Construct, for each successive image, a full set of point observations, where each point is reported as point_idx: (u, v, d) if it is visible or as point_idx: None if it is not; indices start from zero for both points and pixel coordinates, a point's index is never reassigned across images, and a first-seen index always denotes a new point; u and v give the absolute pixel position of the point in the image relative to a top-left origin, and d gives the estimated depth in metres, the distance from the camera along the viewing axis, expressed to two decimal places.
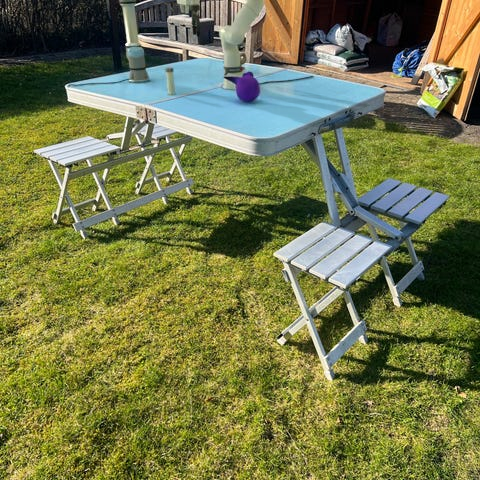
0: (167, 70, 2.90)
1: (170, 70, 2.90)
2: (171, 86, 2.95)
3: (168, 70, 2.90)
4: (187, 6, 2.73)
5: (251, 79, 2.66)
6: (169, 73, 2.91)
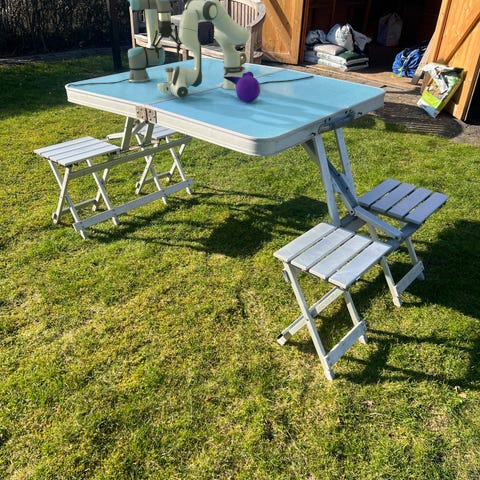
0: (167, 70, 2.90)
1: (170, 70, 2.90)
2: None
3: (168, 70, 2.90)
4: None
5: (251, 79, 2.66)
6: (169, 73, 2.91)
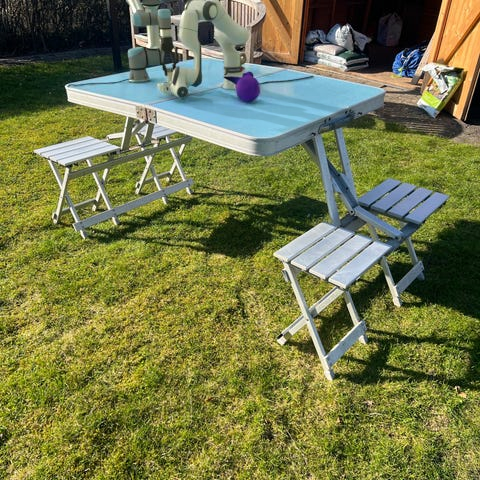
0: (167, 70, 2.90)
1: (170, 70, 2.90)
2: None
3: (168, 70, 2.90)
4: None
5: (251, 79, 2.66)
6: (169, 73, 2.91)
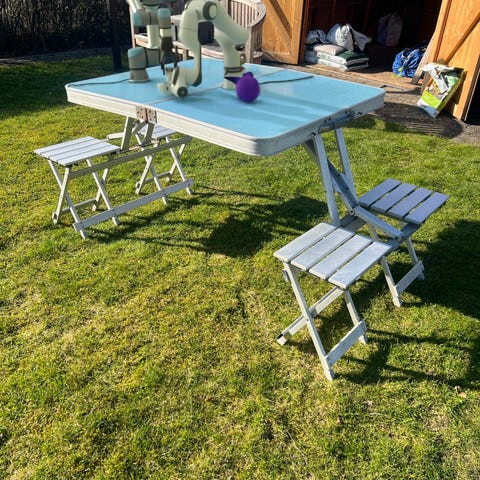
0: (172, 69, 2.91)
1: None
2: None
3: None
4: None
5: (251, 79, 2.66)
6: (169, 73, 2.91)
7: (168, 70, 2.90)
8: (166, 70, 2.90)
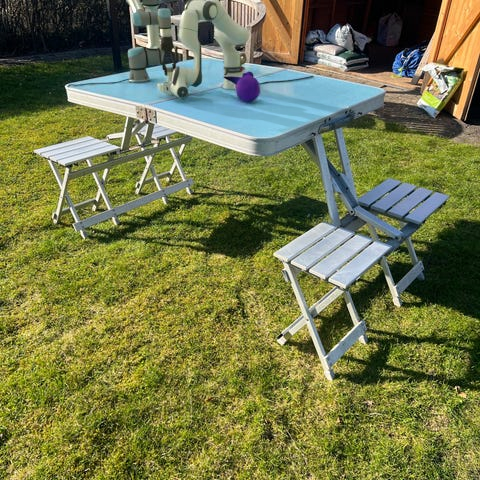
0: (172, 69, 2.91)
1: None
2: None
3: None
4: None
5: (251, 79, 2.66)
6: (169, 73, 2.91)
7: (168, 70, 2.90)
8: (166, 70, 2.90)
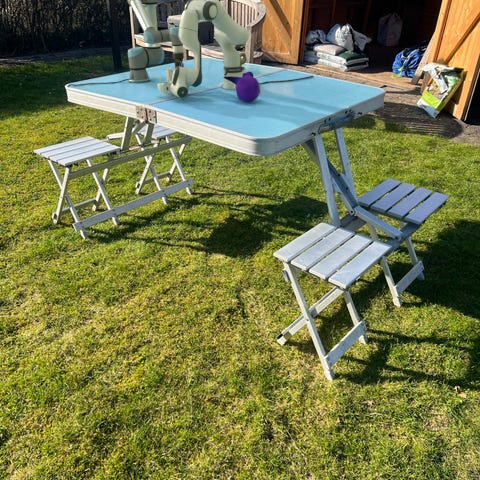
0: None
1: None
2: None
3: None
4: None
5: (251, 79, 2.66)
6: (169, 73, 2.91)
7: None
8: None
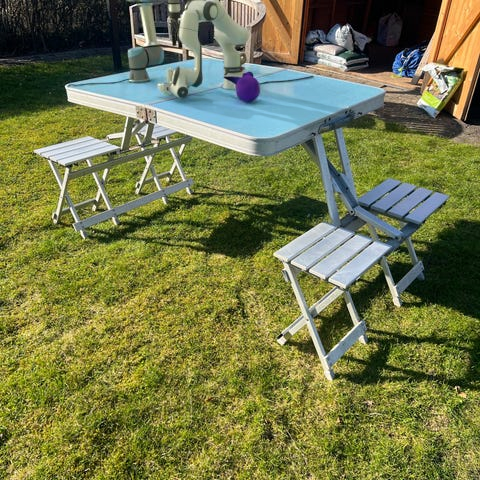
0: None
1: None
2: None
3: None
4: None
5: (251, 79, 2.66)
6: (169, 73, 2.91)
7: None
8: None
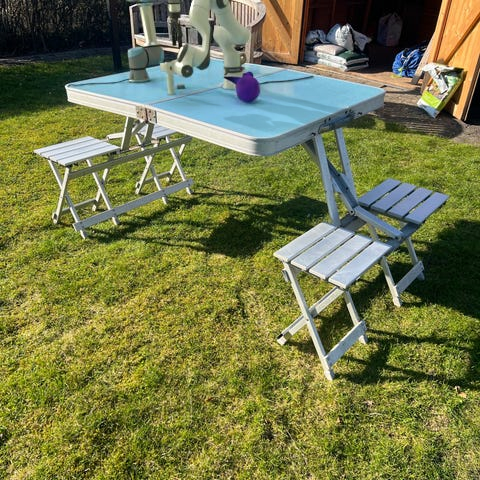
0: None
1: None
2: (171, 86, 2.95)
3: None
4: None
5: (251, 79, 2.66)
6: None
7: (184, 87, 3.15)
8: (183, 87, 3.14)
